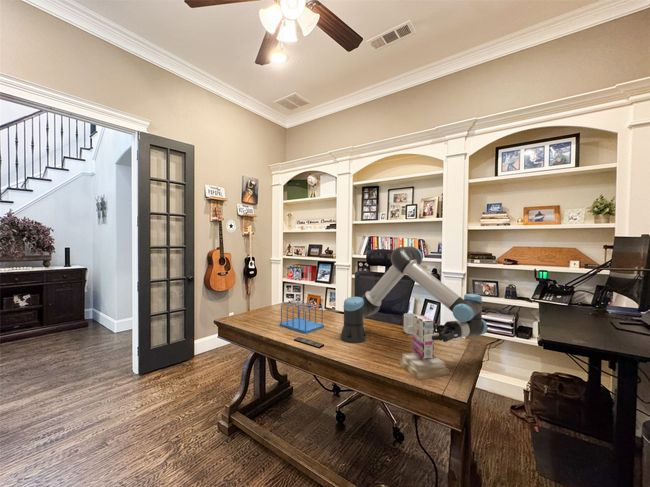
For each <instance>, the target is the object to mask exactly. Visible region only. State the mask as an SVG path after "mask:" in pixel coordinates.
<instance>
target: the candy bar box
mask: <svg viewBox="0 0 650 487" xmlns="http://www.w3.org/2000/svg"><path fill="white" fill-rule="evenodd" d="M434 324H435V321H434V320H432V319H431V318H429V317H427V316H425V315H423V314H417V315H413V335H412V350H413V351H414V352H416V353H417V354H418V355H419V356H421V357H422V358H423V359H434V356H435V355H434V350H435V349H434V347H435V346H434V344H435V341H427V342H425V341H424V335H427V334H435V333H434Z"/></svg>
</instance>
